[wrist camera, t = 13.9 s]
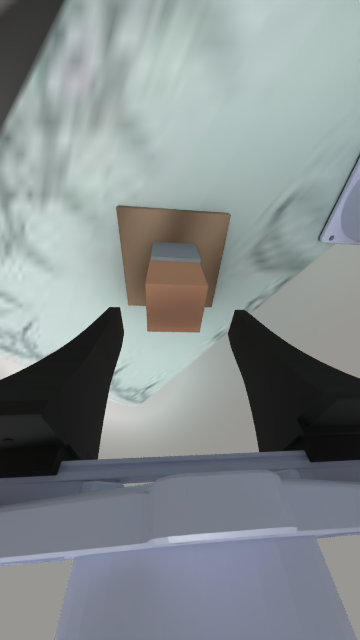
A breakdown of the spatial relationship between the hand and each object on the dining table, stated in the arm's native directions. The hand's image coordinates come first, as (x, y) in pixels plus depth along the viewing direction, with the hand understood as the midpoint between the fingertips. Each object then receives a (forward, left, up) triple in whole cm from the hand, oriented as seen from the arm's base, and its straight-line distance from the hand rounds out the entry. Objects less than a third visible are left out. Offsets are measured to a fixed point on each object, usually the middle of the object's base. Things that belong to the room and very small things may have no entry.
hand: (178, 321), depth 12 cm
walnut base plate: (0, 0, -10) cm, 10 cm away
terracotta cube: (0, 0, -5) cm, 5 cm away
